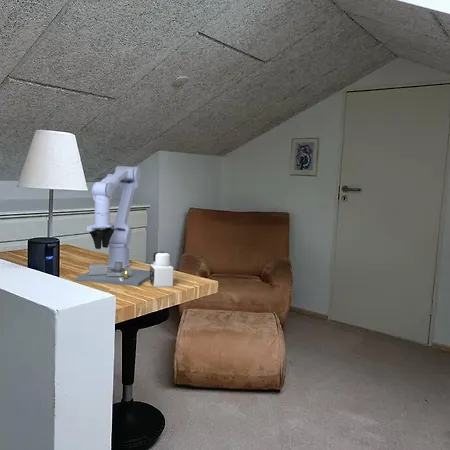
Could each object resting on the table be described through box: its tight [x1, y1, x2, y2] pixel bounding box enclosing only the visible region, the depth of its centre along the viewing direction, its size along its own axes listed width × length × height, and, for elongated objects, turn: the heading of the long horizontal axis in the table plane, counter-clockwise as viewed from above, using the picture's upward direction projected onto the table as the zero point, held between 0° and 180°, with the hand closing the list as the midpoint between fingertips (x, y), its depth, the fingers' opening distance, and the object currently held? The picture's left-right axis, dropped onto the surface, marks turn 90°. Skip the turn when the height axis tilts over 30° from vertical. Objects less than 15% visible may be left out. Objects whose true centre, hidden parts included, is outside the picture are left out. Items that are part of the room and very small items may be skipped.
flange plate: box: [88, 263, 132, 277], centre depth 171 cm, size 15×9×4 cm, turn 109°
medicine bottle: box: [149, 251, 174, 288], centre depth 164 cm, size 7×7×12 cm
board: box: [75, 262, 150, 287], centre depth 172 cm, size 20×24×6 cm
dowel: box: [124, 270, 129, 279], centre depth 166 cm, size 2×2×3 cm
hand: (101, 248), depth 175 cm, fingers open, 3 cm apart
